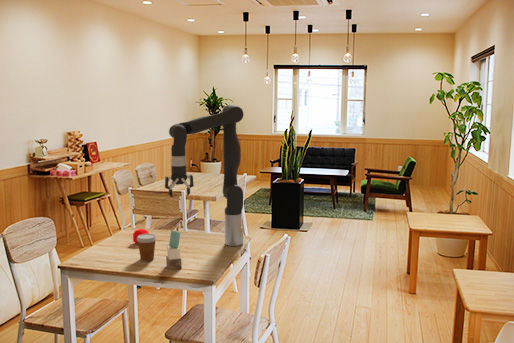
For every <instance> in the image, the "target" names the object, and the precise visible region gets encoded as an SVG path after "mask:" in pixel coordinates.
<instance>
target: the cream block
mask: <svg viewBox="0 0 514 343" xmlns="http://www.w3.org/2000/svg"><path fill="white" fill-rule="evenodd" d="M166 248H167V249H166V250H167V256H168V258H169V260H173V259H180V258H181V251H180V247H179V246H178V247H170V246H169V245H168V246H167V247H166Z"/></svg>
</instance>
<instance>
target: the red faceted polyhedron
mask: <svg viewBox="0 0 514 343" xmlns="http://www.w3.org/2000/svg"><path fill="white" fill-rule="evenodd" d="M141 234H150V232H149V231H148V230H146V229H144V228H139V229H136V230H134V232H133V233H132V242H133V243H134V244H136V245H138V241H137V237H138V236H139V235H141Z"/></svg>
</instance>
